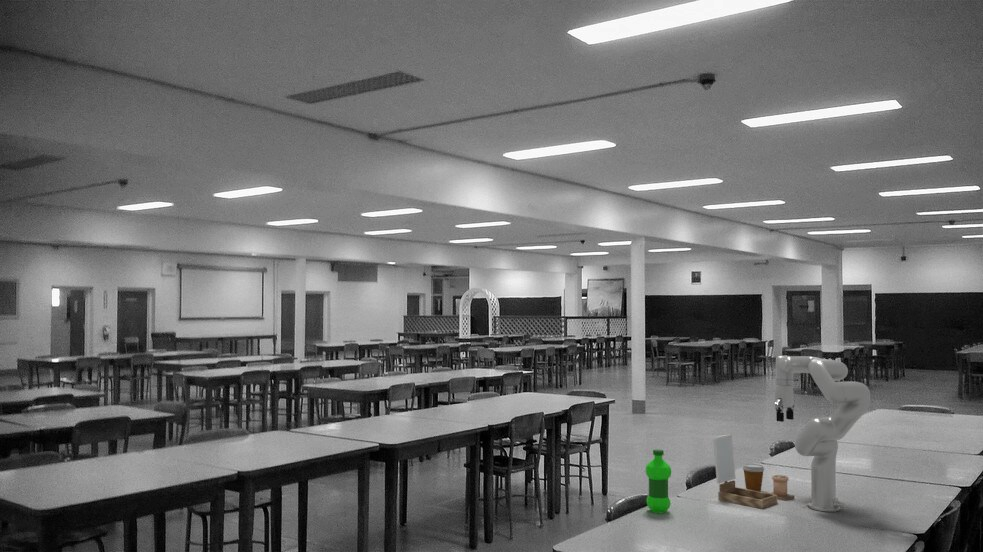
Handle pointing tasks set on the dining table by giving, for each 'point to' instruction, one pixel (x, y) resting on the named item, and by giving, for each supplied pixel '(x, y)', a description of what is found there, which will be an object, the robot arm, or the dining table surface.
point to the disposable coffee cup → (753, 476)
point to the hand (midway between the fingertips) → (785, 420)
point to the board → (785, 497)
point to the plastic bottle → (658, 483)
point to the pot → (780, 485)
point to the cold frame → (745, 496)
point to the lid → (724, 458)
